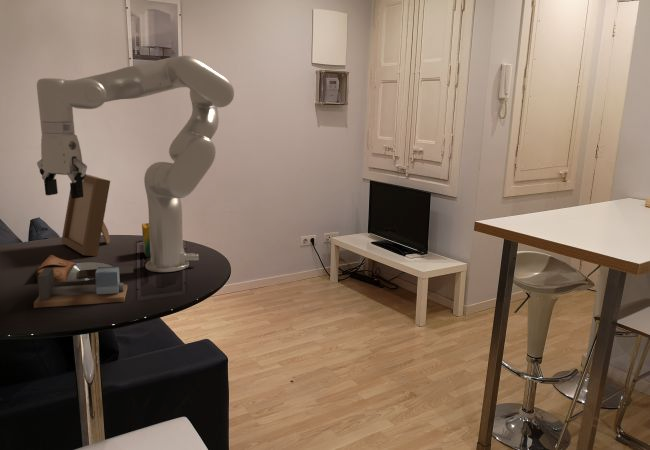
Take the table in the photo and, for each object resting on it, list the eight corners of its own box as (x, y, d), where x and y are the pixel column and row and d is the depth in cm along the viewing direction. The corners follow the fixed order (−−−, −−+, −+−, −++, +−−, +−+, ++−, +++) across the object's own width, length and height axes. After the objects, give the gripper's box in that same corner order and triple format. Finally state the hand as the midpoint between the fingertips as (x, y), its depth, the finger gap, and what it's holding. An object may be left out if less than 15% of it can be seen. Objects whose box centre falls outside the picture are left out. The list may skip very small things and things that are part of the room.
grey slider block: (120, 286, 136) (118, 266, 135) (118, 293, 132) (117, 272, 130) (99, 287, 135) (98, 267, 134) (96, 294, 130) (95, 273, 129)
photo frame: (83, 258, 167) (77, 179, 162) (61, 244, 183) (55, 172, 178) (129, 251, 177) (125, 176, 172) (104, 238, 193) (100, 170, 188)
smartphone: (133, 268, 159) (78, 272, 153) (133, 265, 159) (78, 270, 153) (134, 275, 152) (77, 280, 147) (134, 272, 152) (77, 277, 146)
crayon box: (143, 252, 176) (141, 217, 174) (152, 251, 177) (150, 217, 175) (145, 257, 170) (143, 222, 167) (155, 256, 171) (153, 221, 168)
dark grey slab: (55, 290, 133) (53, 267, 132) (49, 299, 127) (46, 276, 125) (46, 291, 133) (44, 268, 131) (39, 300, 126) (37, 276, 125)
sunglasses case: (67, 280, 145) (52, 261, 142) (44, 295, 144) (28, 275, 141) (77, 263, 161) (63, 245, 159) (56, 275, 160) (42, 258, 158)
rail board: (127, 288, 139) (126, 277, 139) (124, 301, 130) (123, 290, 129) (43, 293, 134) (42, 282, 133) (34, 307, 125) (32, 295, 124)
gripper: (94, 129, 133) (100, 196, 136) (48, 127, 140) (54, 191, 144) (68, 130, 126) (75, 201, 130) (21, 128, 134) (29, 195, 137)
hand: (64, 196), depth 137 cm, fingers open, 9 cm apart
